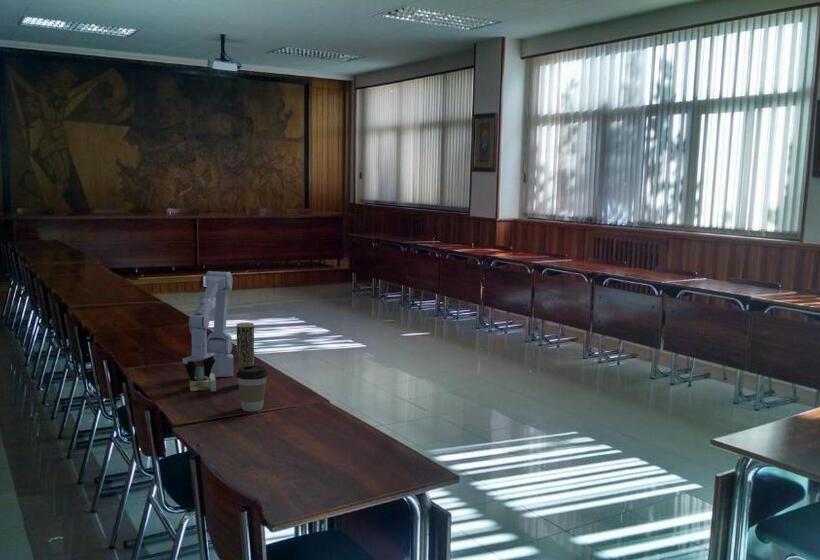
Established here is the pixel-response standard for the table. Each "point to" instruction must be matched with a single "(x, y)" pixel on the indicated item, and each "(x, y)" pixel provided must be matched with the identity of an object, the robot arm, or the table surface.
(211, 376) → the wall
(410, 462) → the table surface
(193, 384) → the beige hollow square block
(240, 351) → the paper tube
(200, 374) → the dowel
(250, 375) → the coffee cup
